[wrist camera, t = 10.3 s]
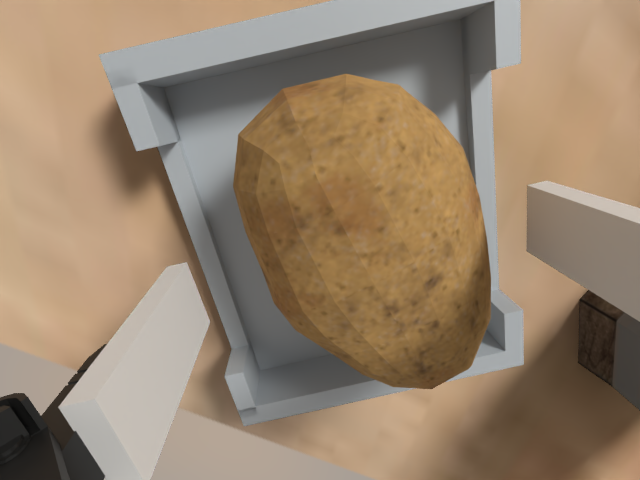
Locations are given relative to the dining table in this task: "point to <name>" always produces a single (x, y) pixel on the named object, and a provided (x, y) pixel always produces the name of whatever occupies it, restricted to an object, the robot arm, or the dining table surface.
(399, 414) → the dining table surface
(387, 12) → the light blue shallow tray
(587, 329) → the mug
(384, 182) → the potato
